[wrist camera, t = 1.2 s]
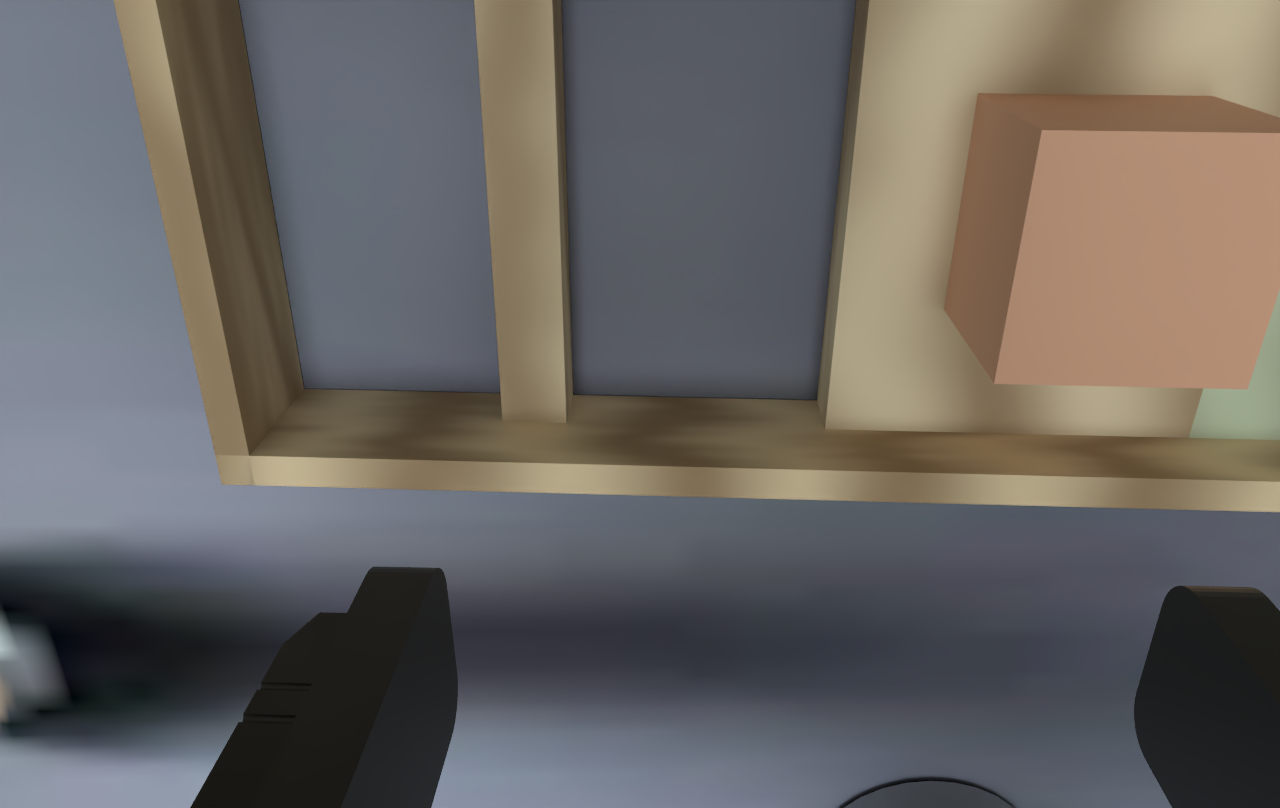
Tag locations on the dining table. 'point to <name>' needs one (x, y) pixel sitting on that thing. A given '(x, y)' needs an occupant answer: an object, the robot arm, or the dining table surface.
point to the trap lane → (856, 300)
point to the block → (1117, 240)
